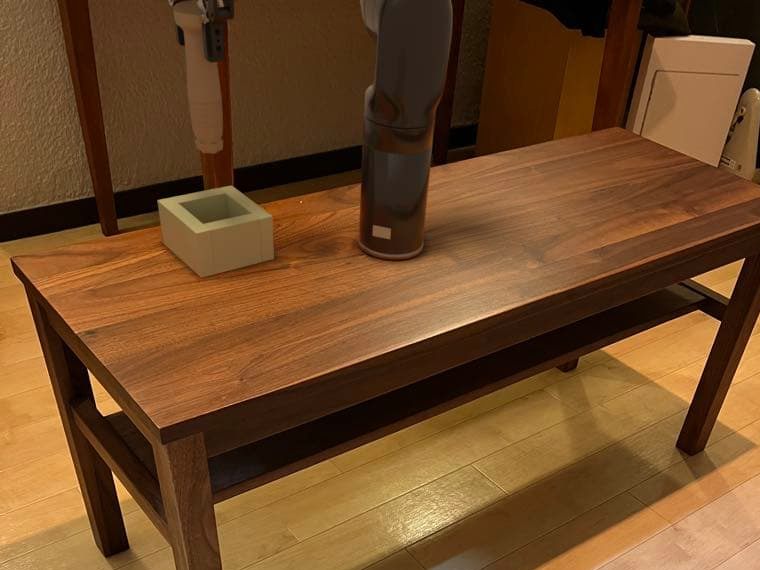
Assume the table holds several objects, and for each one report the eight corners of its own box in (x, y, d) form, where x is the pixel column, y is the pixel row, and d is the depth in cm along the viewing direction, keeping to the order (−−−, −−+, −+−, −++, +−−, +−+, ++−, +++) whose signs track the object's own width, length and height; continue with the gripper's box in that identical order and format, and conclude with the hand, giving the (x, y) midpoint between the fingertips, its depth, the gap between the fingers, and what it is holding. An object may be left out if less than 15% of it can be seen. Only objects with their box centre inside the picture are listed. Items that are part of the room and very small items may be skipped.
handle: (187, 159, 96) (170, 14, 86) (192, 139, 101) (177, -1, 90) (228, 160, 97) (216, 16, 86) (231, 141, 101) (220, 2, 91)
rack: (234, 227, 115) (231, 185, 111) (274, 259, 109) (272, 215, 105) (163, 243, 110) (157, 200, 105) (201, 278, 104) (196, 233, 100)
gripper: (253, -127, 77) (261, 67, 89) (184, -148, 85) (200, 33, 97) (181, -127, 74) (200, 75, 86) (116, -149, 81) (142, 39, 93)
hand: (200, 52), depth 91 cm, fingers closed on handle, 6 cm apart
